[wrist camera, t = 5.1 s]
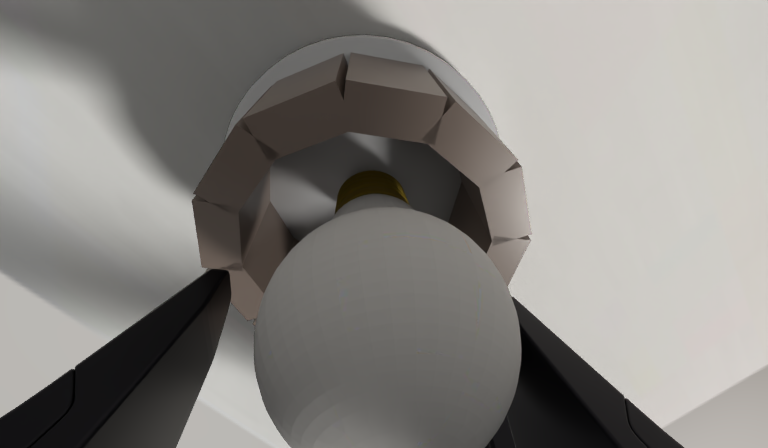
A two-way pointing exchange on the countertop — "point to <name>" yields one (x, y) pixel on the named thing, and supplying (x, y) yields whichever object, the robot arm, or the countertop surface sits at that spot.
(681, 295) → the countertop surface
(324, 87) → the socket
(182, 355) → the robot arm
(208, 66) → the countertop surface
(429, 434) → the light bulb
